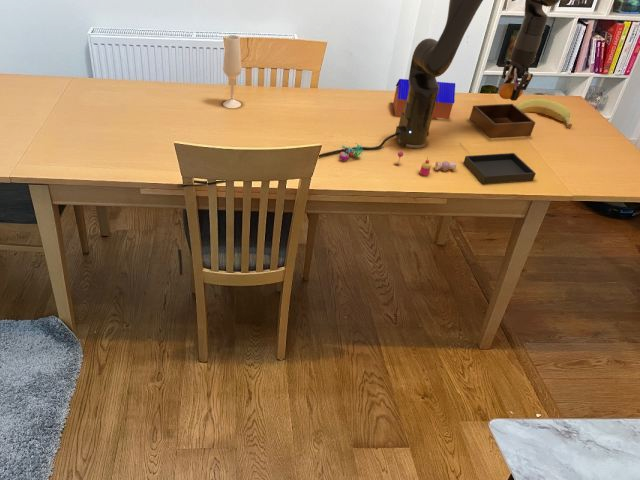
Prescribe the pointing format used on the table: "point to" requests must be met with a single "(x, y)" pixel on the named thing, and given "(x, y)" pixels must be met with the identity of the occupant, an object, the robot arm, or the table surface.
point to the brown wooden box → (502, 120)
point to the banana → (546, 109)
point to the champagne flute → (232, 65)
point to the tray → (499, 168)
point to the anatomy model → (350, 152)
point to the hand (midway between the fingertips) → (509, 96)
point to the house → (442, 101)
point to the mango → (507, 90)
